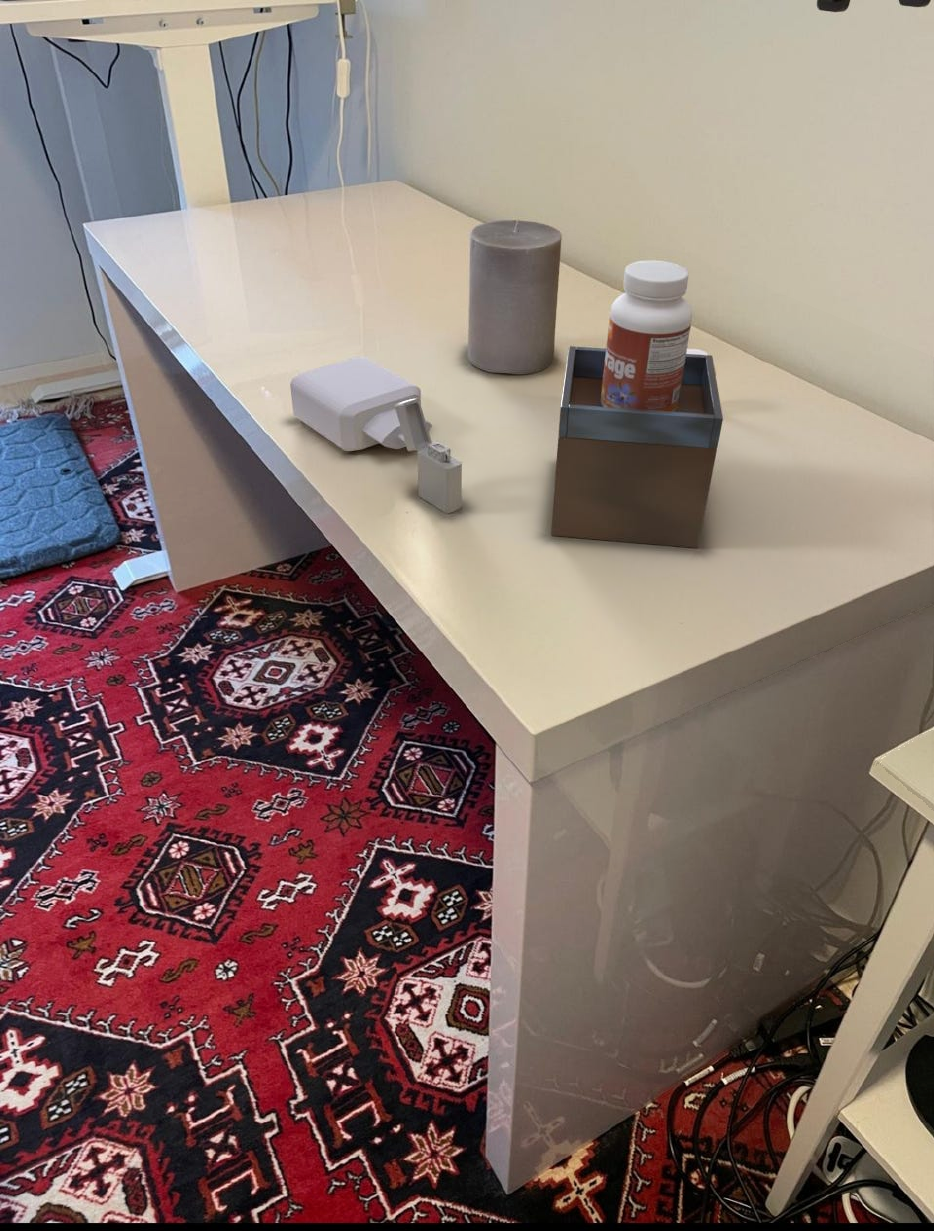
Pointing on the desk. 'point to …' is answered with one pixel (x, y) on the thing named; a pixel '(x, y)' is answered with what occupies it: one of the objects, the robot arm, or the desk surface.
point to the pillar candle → (513, 296)
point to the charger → (353, 403)
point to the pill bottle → (647, 338)
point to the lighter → (431, 460)
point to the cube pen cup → (634, 458)
